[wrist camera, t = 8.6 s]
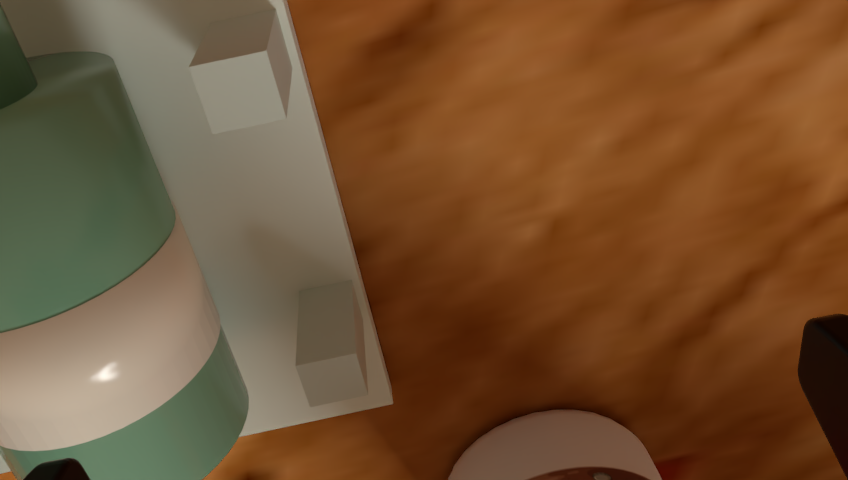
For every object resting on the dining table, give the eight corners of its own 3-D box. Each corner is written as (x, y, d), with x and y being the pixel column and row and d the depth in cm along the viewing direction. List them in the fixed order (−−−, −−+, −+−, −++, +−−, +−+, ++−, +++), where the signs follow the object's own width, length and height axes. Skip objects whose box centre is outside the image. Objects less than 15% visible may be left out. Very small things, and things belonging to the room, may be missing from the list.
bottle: (279, 352, 21) (199, 529, 16) (98, 359, 22) (-25, 526, 17) (61, -247, 13) (-205, -245, 9) (-193, -187, 14) (-550, -156, 10)
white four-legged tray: (-274, -61, 16) (-440, -20, 12) (240, -169, 16) (217, -158, 12) (57, 457, 24) (13, 568, 21) (391, 386, 24) (402, 484, 21)
